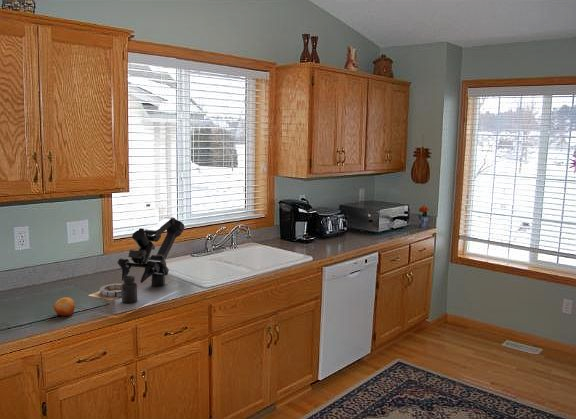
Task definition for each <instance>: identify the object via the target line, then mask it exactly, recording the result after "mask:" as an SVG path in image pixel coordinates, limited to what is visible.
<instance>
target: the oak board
mask: <svg viewBox="0 0 576 419" xmlns="http://www.w3.org/2000/svg"><path fill="white" fill-rule="evenodd" d="M110 291H119V290H110ZM137 291H139V289H138V288H137ZM87 296H88V297H94V298H98V299H103V300H107V301H113V300H115V299H118V298H120V297H103V296H101V295H100V290H99V291H96V292H94V293H91V294H88V295H87Z"/></svg>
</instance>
